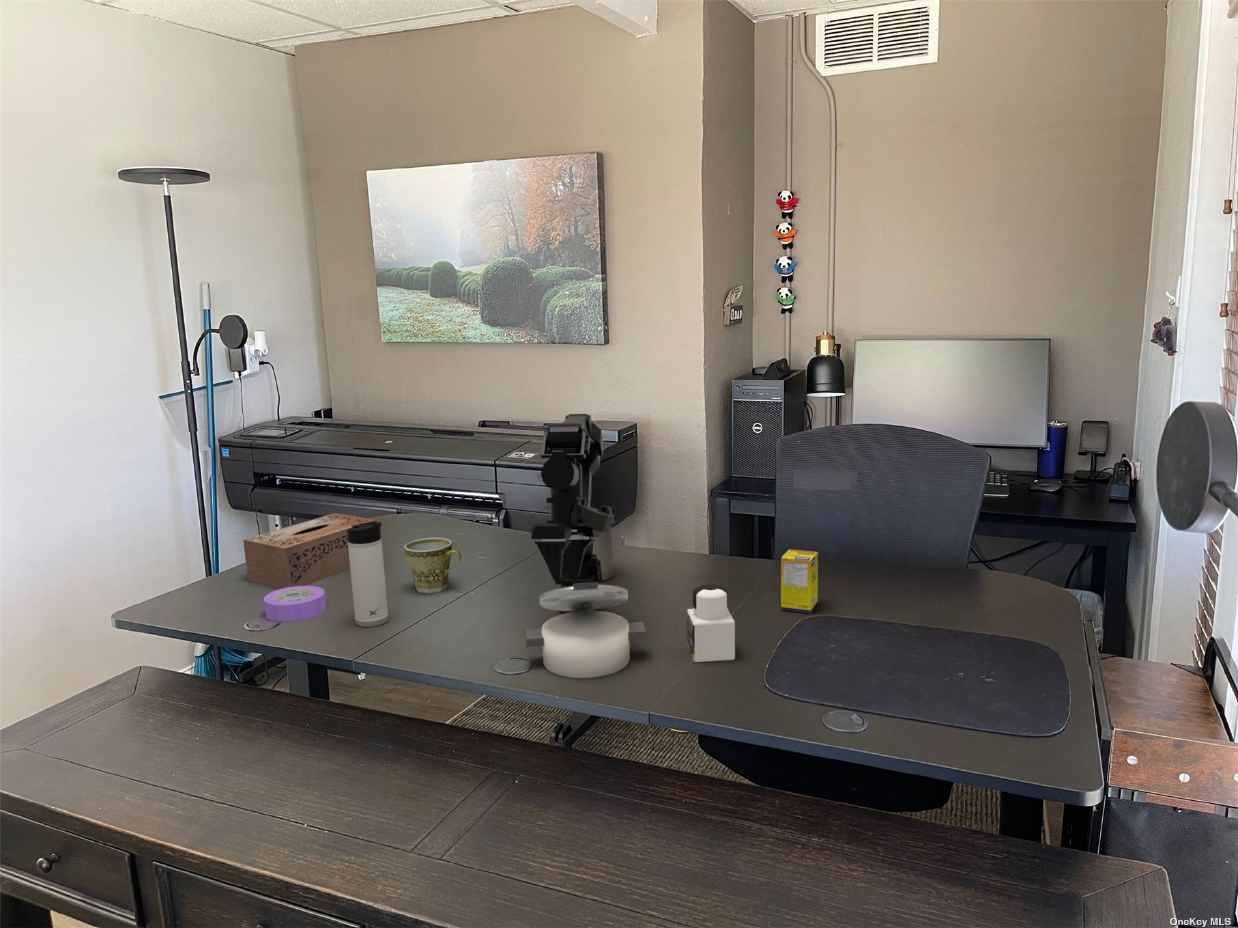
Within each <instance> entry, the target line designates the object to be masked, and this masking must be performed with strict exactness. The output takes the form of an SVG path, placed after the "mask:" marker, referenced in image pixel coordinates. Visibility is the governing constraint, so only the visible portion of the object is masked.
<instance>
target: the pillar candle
mask: <svg viewBox="0 0 1238 928" xmlns="http://www.w3.org/2000/svg"><path fill="white" fill-rule="evenodd" d="M590 538H591V539H596V540H595V542H593V545H594V549H595V554H597V555H598V558H599V560H600V561H601V566H602V576H603V580H605V581H607V579H608V580H609V578H610V579H611V578H612V577H613V576H614V555H613V537H612V526H611V527H610V530H609V532H608V533H607V532H604V533H601V532H599V537H590Z"/></svg>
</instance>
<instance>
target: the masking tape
mask: <svg viewBox="0 0 1238 928" xmlns="http://www.w3.org/2000/svg"><path fill="white" fill-rule="evenodd" d="M263 606H264V615H265V619H266V620H268V619H270V620H272V621H271V622H275V621H278V622H277V623H291V622H293V623H294V622H299V621H305V620H308V619H312V618H315V617H318V616H319V615H321V614H323V613H324V612H325V611H326V609H327V603H326V593H325V590H324V588H322V587H319V586H315V585H306V586H294V587H288V588H283V589H277V590H273V591H271V592H270V593H268V594H266V595H265V596H264V597H263ZM270 620H269V621H270Z"/></svg>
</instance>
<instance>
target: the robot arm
mask: <svg viewBox="0 0 1238 928" xmlns="http://www.w3.org/2000/svg"><path fill="white" fill-rule="evenodd" d="M542 437H543V438H542V446H541V452H540V453H541V455H540V457H541V458H540V459H542V460H546V461H545V462H544V463H543V465H542V468H541V470H540V471H541V472H540V474H541V475H540V476H541V480H542V482H543V484H544V485H545V486H546V487H547V488H549V489H550V491H549V492H550V494H549V495H550V497H546V499H545V500H546V504H549V505H550V506H549V507H550V512H549V513H550V519H549V520H546V522H536V523H535V524H533V526H532V527H531V528H530V539H531V540H535V541H534V544H535V545H536V547H537V549H538V550H539V552H540V554H541V556H542V558H543V560H544V562H545V564H546V566H547V569H548V571H549V573H550V576H551V577H552V580H553V581H554V582H555V586H556V585H557V586H558V585H560V588H564V587H570V586H573V583H588V582H598V584H599V583H603V582H604V581H603V576H602V566H601V561H600V560H599V558H598V555H597V554H595V549H594V545H593V542H595V540H596V539H591V538H590V537H599V532H601V533H604V532H607V533H608V532H609V530H610V527H611V528H612V525H613V524H615V514H613V509H612V507H610V506H607V505H601V506H600V507H599V508H598V509H597V508H596V507H591V494H592V491H591V490H592V476H594V474H595V473H596V471H598V469H599V468H600V464H601V457H603V456H604V438H603V433H602V429H601V428H600V427H598V425H596V424H595V423H594V422H593V420H592V415H591V414H588V413H569V414H568V415H565V419H564V420H563V421H562V422H558V423H557V422H553V423H552V422H550V423H548V424H547V429H544V432H543V436H542ZM558 611H559V612H561V613H562V614H565V613H570V612H572V611H560V610H558ZM594 611H602V608H601V609H594Z"/></svg>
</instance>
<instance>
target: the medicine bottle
mask: <svg viewBox="0 0 1238 928" xmlns="http://www.w3.org/2000/svg"><path fill="white" fill-rule="evenodd" d="M686 623H687V625H686V630H687V631H686V632H687V635H686V636H687V642H686V643H687V648H688V650H689V653H690V655H691V657H692V660H693V662H694V663H704V662H705V663H707V662H720V661H722V662H724V661H733V660H735V658H736V636H735V635H736V633H735V632H736V629H735V628H736V626H735V625H736V622H735V620H734V618H733V616H732V614H731V613H730V611H729V592H728V590H727V588H725V587H723V586H721V585H718V584H714V583H713V584H712V583H711V584H710V583H708V584H701V585H699V586H696V587H695V588H693V590H692V608H687V610H686Z"/></svg>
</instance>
